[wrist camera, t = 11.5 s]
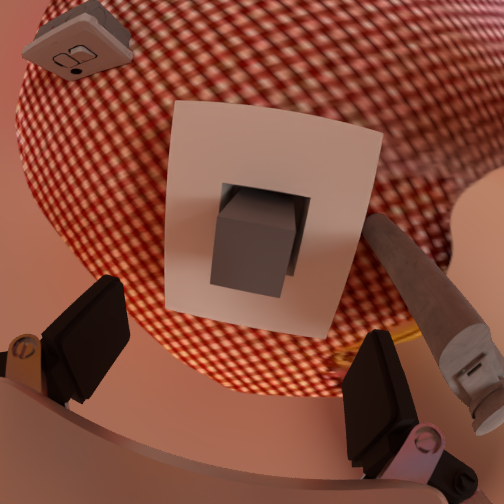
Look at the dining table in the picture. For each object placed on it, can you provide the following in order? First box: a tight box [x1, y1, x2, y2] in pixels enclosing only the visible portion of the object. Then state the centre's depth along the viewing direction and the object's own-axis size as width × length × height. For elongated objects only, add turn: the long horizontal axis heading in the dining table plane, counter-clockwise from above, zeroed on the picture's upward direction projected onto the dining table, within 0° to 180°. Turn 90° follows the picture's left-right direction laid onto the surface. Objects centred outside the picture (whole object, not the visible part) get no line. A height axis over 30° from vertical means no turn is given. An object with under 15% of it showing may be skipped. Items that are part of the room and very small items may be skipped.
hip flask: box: [362, 213, 504, 436], centre depth 17 cm, size 16×4×20 cm, turn 54°
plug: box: [210, 187, 296, 298], centre depth 21 cm, size 4×4×10 cm
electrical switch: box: [22, 0, 133, 81], centre depth 17 cm, size 9×5×9 cm, turn 89°
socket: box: [164, 100, 384, 339], centre depth 23 cm, size 15×18×6 cm
